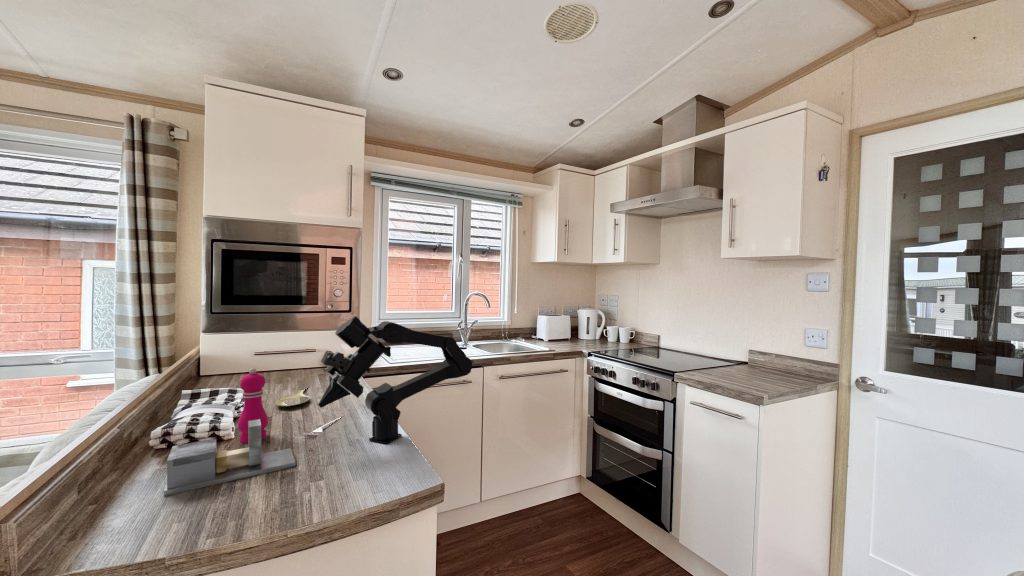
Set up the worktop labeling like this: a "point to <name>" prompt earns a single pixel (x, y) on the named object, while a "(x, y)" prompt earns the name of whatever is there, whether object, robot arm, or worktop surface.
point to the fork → (322, 427)
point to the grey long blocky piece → (214, 466)
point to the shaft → (242, 451)
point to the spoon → (296, 395)
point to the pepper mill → (252, 404)
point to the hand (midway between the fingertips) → (319, 406)
